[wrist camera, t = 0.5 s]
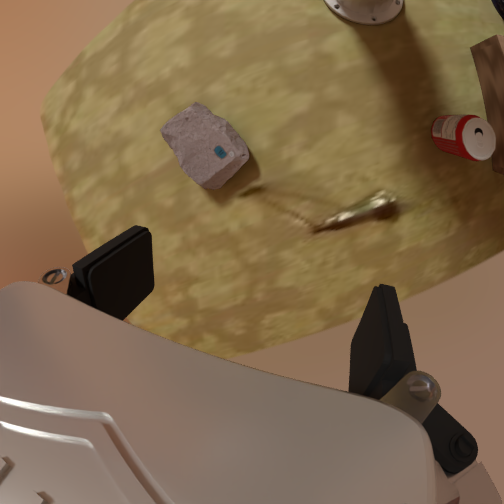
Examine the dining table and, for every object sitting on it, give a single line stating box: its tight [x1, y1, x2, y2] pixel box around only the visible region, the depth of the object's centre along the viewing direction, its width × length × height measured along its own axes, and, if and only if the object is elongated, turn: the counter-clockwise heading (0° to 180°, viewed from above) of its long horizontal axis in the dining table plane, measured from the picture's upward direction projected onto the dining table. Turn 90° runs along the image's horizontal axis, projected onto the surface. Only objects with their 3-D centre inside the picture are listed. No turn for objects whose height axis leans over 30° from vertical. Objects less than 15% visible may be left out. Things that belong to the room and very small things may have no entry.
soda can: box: [431, 115, 496, 161], centre depth 27 cm, size 6×6×12 cm
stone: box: [160, 102, 249, 190], centre depth 41 cm, size 13×10×6 cm
